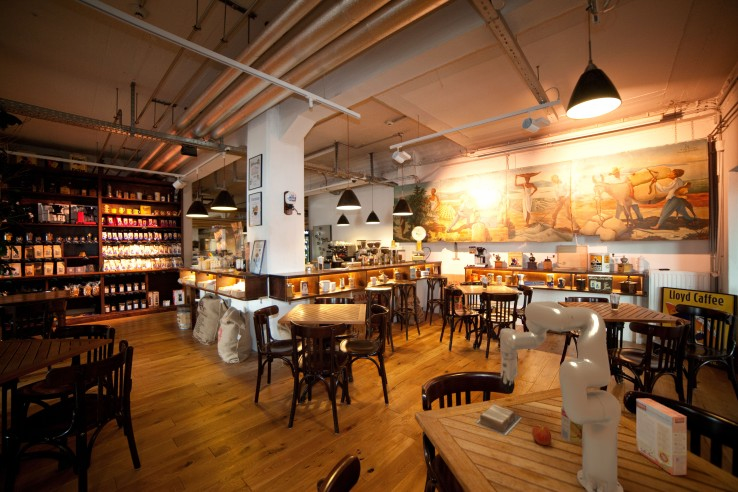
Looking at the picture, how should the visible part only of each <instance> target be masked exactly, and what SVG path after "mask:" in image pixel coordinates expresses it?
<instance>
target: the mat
mask: <svg viewBox="0 0 738 492" xmlns="http://www.w3.org/2000/svg"><path fill="white" fill-rule="evenodd" d="M522 419H524V417H522V416H519V415H517V414H515V420H514V421H513V422H512V423H511V424H510V425H509V426H508V427H507V428H506V429H505V430H504V431H503V432H500V431H498V430H496V429H493V428H491V427H488V426H486V425H484V424H481V423H480V418H479V419H477V420H476V421H475V424H477V425H478V426H479V425H480V426H482V427H484V428H487V429H489V430H491V431H493V432H496V433H498V434H501V435H503V436H506V437H507V436H508V435H509V433H511V432H512V431H513V429H514V428H515V427H516V426H517V425H518V424H519V423H520V422H521V421H522Z"/></svg>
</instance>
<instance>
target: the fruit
mask: <svg viewBox="0 0 738 492" xmlns="http://www.w3.org/2000/svg"><path fill="white" fill-rule="evenodd" d="M531 433H532V434H531V435H532V437H533V439H534V441H536V443H538V444H539V445H542V446H546V445H549V444H550V442H552V433H551V431H550V429H549V428H548V426H546V425H542V423H540V424H536V425H534V426H533V427H532V429H531Z"/></svg>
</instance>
